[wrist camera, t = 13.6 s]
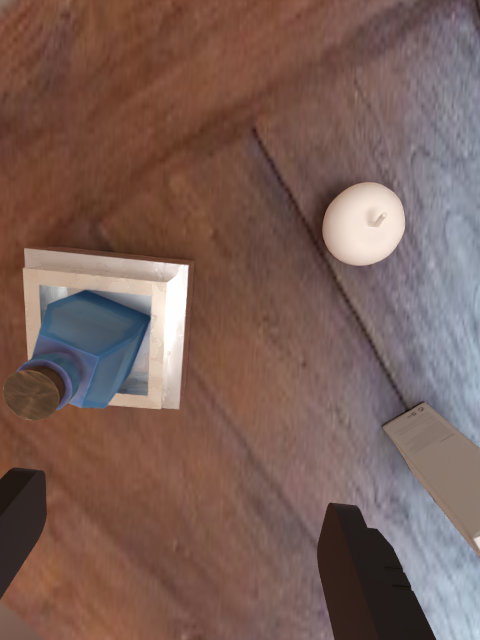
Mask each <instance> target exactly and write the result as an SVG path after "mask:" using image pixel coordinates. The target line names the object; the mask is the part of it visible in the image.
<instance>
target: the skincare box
mask: <svg viewBox="0 0 480 640" xmlns="http://www.w3.org/2000/svg"><path fill="white" fill-rule="evenodd" d="M383 429H384V431H385V432H386V433H387V434H388V435H389V437H390V438H391V440H392V441H393V442H394V444H395V445H396V447H397V448H398V450H399V451H400V453H401V454H402V456H403V458H404V459H405V461H406V462H407V464H408V466H409V468H410V470H411V471H412V473H413V474H414V476H415V477H416V478H417V479H418V481H419V482H420V483H421V485H422V486H423V487H424V488H425V490H426V491H427V492H428V493H429V495H430V496H431V497H432V498H433V500H434V501H435V502H436V503H437V505H438V506H439V507H440V508H441V510H442V511H443V512H444V514H445V515H446V516H447V517H448V519H449V520H450V521H451V522H452V524H453V525H454V526H455V527H456V529H457V530H458V531H459V532H460V534H461V535H462V536H463V537H464V539H465V540H466V541H467V542H468V544H469V545H470V546H471V547H472V548H473V550H474V551H475V552H476V553H477V554H478V556H479V557H480V448H479V447H478V446H476V445H475V444H474V443H473V442H472V441H471V440H469V439H468V438H467V437H466V436H465V435H463V434H462V433H461V432H460V431H459V430H458V429H456V428H455V427H454V426H453V425H452V424H450V423H449V422H448V421H447V420H446V419H444V418H443V417H442V416H441V415H440V414H439V413H437V412H436V411H435V410H434V409H433V408H431V407H430V406H429V405H428V404H427V403H425V402H424V403H422V404H420V405H418V406H416V407H415V408H414V409H412V410H410V411H408V412H407V413H405V414H403V415H401V416H399V417H397V418H396V419H394V420H392V421H390V422H389V423H387V424H385V425H384V426H383Z"/></svg>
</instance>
